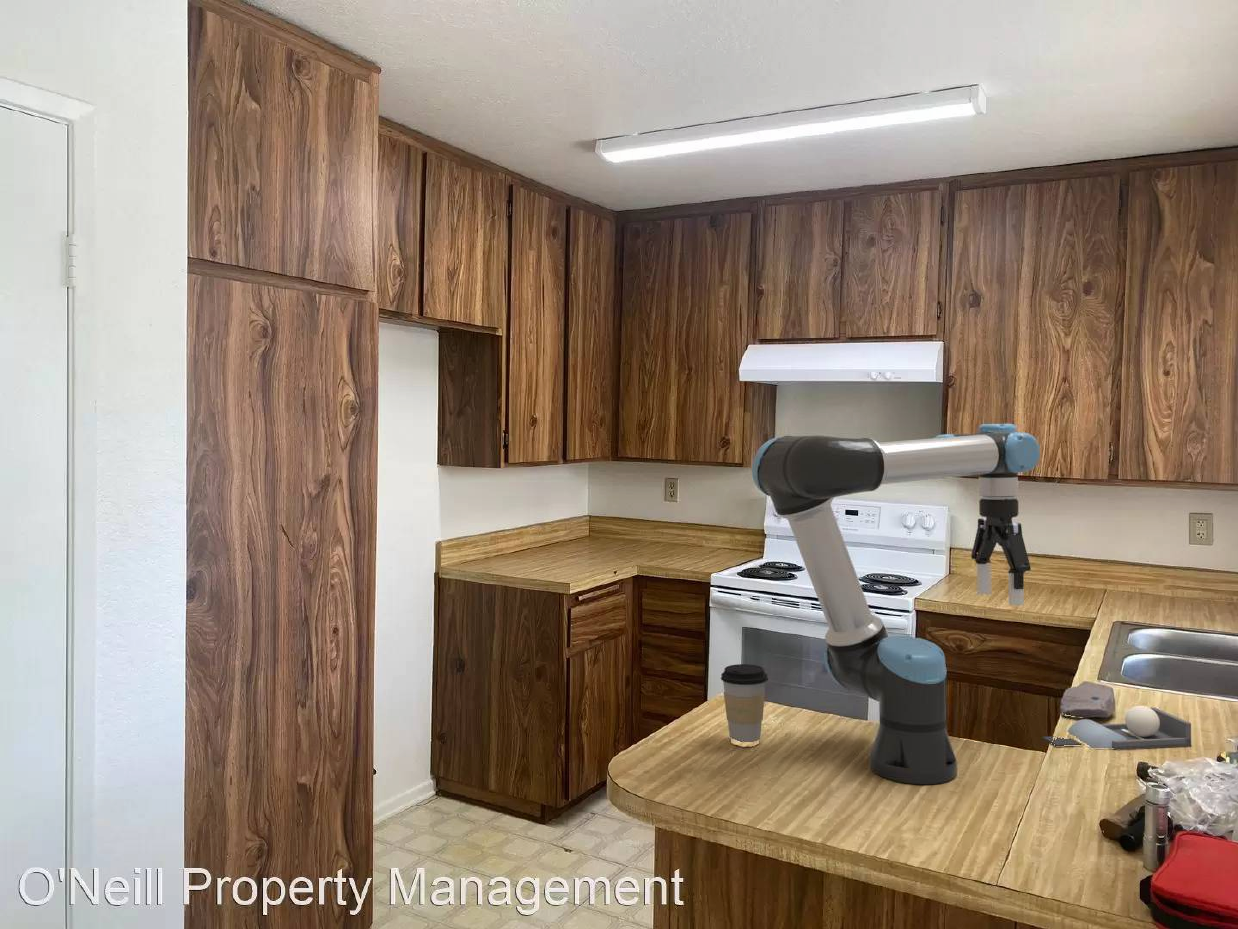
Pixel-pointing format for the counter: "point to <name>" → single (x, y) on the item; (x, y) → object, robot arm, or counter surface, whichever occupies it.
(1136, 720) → the ball
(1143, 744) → the tray
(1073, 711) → the stone
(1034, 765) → the counter surface
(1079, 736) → the grey wedge
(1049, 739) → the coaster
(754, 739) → the coffee cup
